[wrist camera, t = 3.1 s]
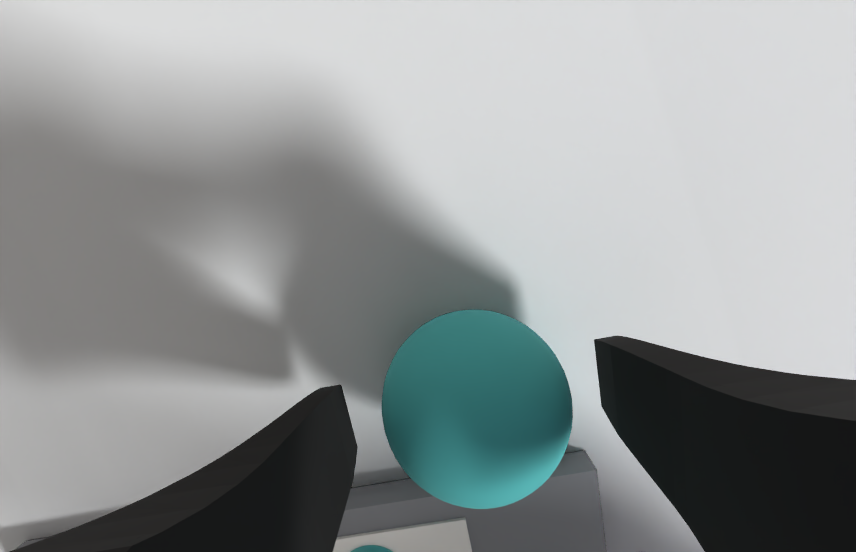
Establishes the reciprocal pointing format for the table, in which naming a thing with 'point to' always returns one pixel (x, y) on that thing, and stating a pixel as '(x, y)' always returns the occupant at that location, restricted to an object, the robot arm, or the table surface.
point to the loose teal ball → (477, 409)
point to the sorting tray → (476, 518)
